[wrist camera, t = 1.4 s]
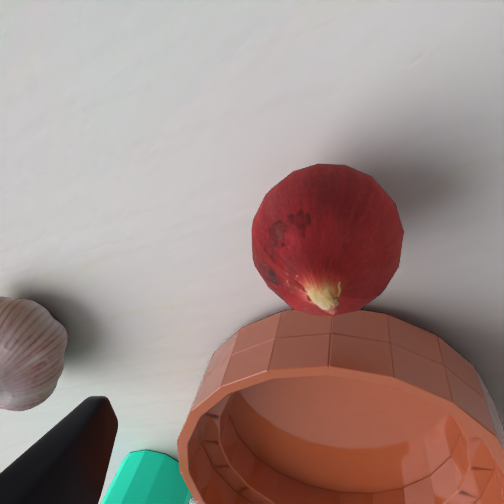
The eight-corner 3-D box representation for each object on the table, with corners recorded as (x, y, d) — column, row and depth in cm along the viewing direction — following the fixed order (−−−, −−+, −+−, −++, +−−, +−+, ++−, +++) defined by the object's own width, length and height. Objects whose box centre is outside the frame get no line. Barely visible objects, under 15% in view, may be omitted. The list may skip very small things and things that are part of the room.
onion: (270, 252, 22) (232, 362, 16) (266, 141, 20) (218, 214, 13) (388, 260, 21) (403, 381, 14) (402, 142, 18) (429, 223, 12)
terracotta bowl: (561, 431, 24) (605, 523, 20) (342, 527, 33) (340, 605, 29) (331, 240, 21) (325, 299, 17) (157, 400, 30) (124, 465, 26)
